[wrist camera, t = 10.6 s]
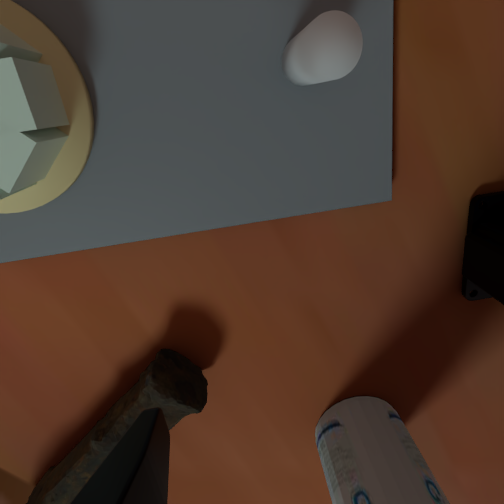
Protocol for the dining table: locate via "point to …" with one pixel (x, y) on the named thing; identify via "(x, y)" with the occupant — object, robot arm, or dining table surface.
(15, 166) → the ring
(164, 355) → the hand tool
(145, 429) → the robot arm
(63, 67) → the rod board
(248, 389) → the dining table surface
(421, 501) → the spray can
